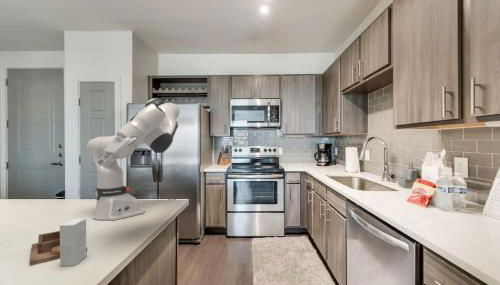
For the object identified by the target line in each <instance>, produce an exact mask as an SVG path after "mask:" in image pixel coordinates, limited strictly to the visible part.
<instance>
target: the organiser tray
mask: <svg viewBox="0 0 500 285" xmlns="http://www.w3.org/2000/svg"><path fill="white" fill-rule="evenodd" d="M37 239H38V241H37V242H36V243H32V244H31V248H30V255H29V256H30V257H29V266H35V265H38V264H39V265H40V264H43V263H47V262H51V261H54V260H60V230H57V231H52V232H45V233H40V234H38V238H37ZM86 251H87V252H88V246H87V245H86Z"/></svg>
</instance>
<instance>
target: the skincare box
mask: <svg viewBox="0 0 500 285" xmlns="http://www.w3.org/2000/svg"><path fill="white" fill-rule="evenodd" d="M59 231H60V258H59V260H60V261H59V262H60V263H59V264H60V267H68V266H71V267H72V266H76V265H78V263H80V262H81V261H82V260H83V259H85V258H86V257H87V253H88V250H87V251H86V246H87V218H72V219H70V220H68V221H66V222H63V223H62V224H60V225H59Z"/></svg>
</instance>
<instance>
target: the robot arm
mask: <svg viewBox="0 0 500 285" xmlns="http://www.w3.org/2000/svg"><path fill="white" fill-rule="evenodd" d="M179 115H180V108H179V107H178V105H177V104H175V103H172V102H165V101H164V100H162V99H161V98H159V97H155V98H151V99H149V100H148V101H147V102H146V103H145V105H144V108H143V109H141V110H140V111H139V112H137V113H136V114H134V115H133V116H132V117H131V118H130V119H129V121H128V122H127V123H125V125H123V127H121V128H120V129H119V130H118V131H117V133H116V134H114V135H109V136H96V137H94V138H92V139H90V140H89V141H88V142H87V144H86V151H87V153H88V155H89V156H90V157H91V158H92V160H93V162H94V166H95V170H96V181H97V182H96V183H97V184H96V185H97V186H96V190H95V199H96V205H95V209H94V210H95V211H94V214H93V219H94V220H96V221H97V220H99V221H116V220H121V219H125V218H129V217H134V216H137V215H141V214H143V215H144V214H145V212H146V209H145V208H144V207H142V206H141V204H140V201H139V199H138V198H136V197H135V196H133V195H131V194H130V193H129V192H130V190H131V187H129V186H125V185H124V170H123V169H122V168H121V166H120V165H119V163H118V160H123V159H126V158H130V157H131V156H132V155H133V154H134V151H135V149H138V148H139V147H140V146H141V145H142V144H143V143H144V144H145V145H146V146H147V147H149V148H150V149H151V151H152V152H154V153H155V154H163V153H164V152H166V151H167V150H169V149H170V147H171V146H172V143H173V141H174V137H175V134H176V132H177V129H178V128H179V124H178V121H177V119H178V118H179Z"/></svg>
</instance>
